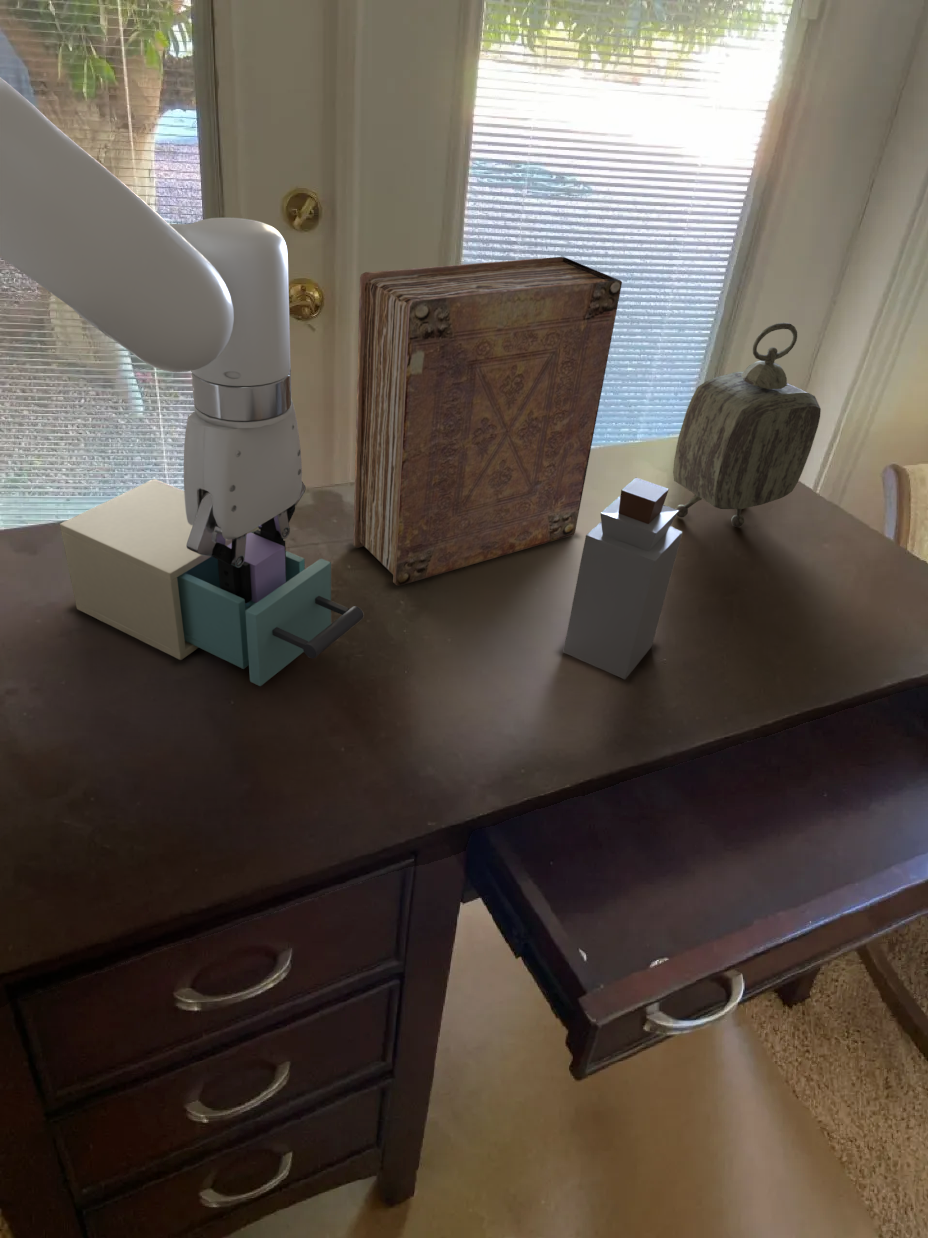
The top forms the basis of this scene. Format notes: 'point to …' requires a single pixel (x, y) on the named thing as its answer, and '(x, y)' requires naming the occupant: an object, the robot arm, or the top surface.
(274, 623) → the teal drawer
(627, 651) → the perfume bottle
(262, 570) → the lavender cube
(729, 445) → the tabletop clock
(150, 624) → the drawer cabinet
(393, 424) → the book
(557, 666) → the top surface
